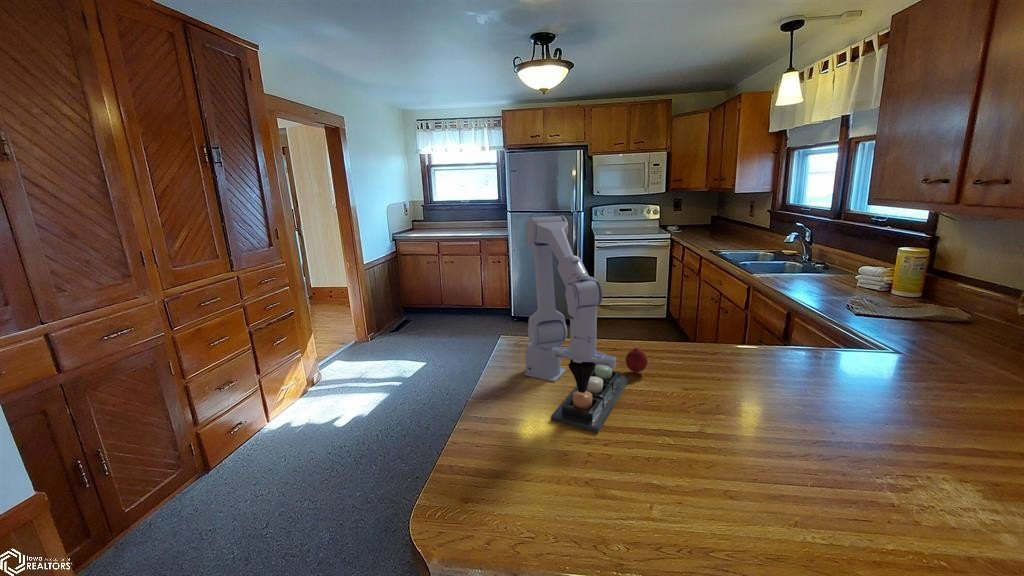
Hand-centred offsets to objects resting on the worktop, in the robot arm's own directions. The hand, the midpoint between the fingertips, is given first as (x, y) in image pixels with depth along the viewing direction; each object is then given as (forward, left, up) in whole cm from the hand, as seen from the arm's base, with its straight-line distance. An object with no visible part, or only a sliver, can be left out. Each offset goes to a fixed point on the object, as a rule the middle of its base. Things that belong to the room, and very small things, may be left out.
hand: (582, 390), depth 94 cm
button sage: (0, +16, -4) cm, 16 cm away
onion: (+6, +27, -6) cm, 28 cm away
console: (0, +8, -6) cm, 10 cm away
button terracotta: (0, 0, -4) cm, 4 cm away
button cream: (0, +8, -4) cm, 9 cm away
